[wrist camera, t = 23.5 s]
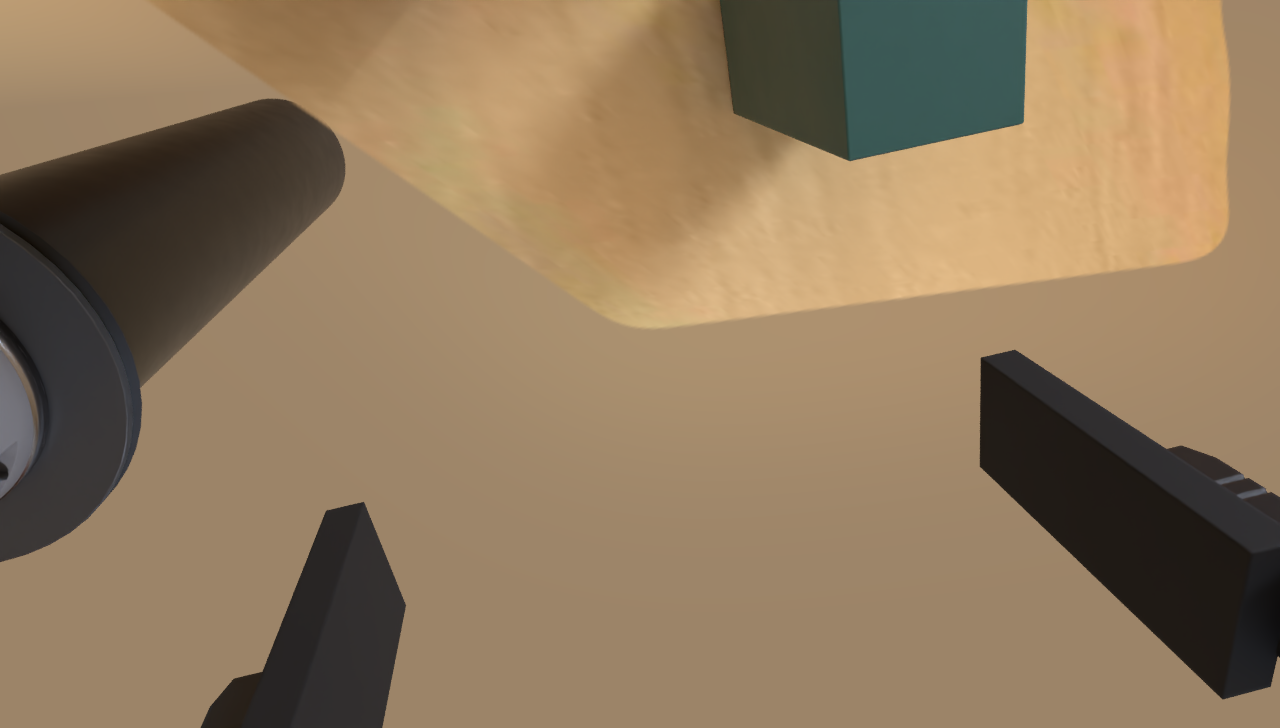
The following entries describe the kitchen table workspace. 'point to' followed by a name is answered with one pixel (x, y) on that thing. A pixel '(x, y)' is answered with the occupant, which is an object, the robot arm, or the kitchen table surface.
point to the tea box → (876, 69)
